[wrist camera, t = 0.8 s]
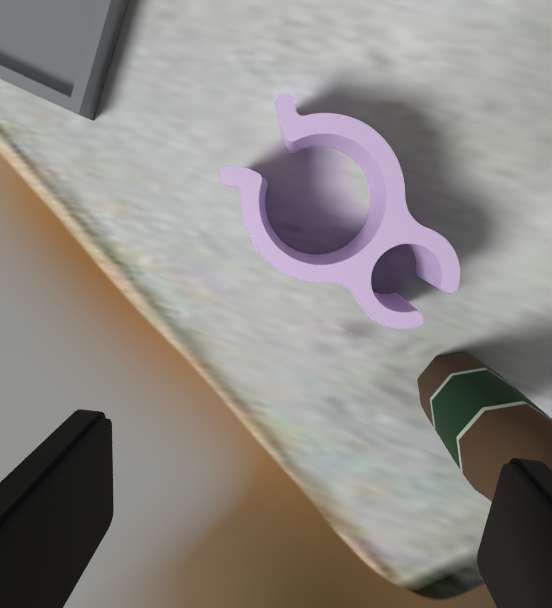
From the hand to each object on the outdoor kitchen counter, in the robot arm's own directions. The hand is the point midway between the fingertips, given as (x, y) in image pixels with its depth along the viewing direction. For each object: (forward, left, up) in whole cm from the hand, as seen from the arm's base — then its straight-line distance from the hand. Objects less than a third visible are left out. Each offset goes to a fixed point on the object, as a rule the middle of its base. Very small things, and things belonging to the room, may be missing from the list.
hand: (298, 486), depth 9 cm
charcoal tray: (-11, -29, -30) cm, 43 cm away
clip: (-6, +1, -30) cm, 31 cm away
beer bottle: (+4, +19, -30) cm, 36 cm away
